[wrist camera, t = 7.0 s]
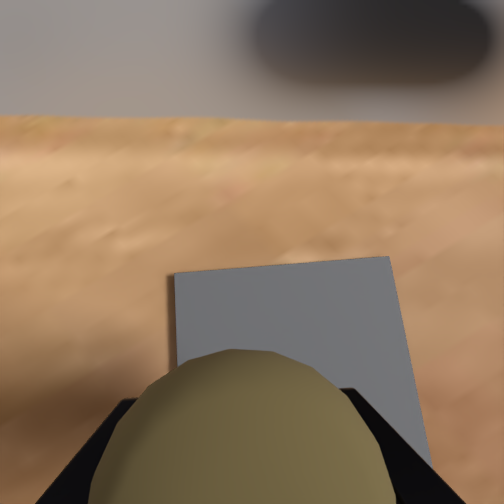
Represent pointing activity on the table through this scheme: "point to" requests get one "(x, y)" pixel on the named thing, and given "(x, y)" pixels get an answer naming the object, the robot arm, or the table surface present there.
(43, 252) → the table surface
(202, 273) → the mat
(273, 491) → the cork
